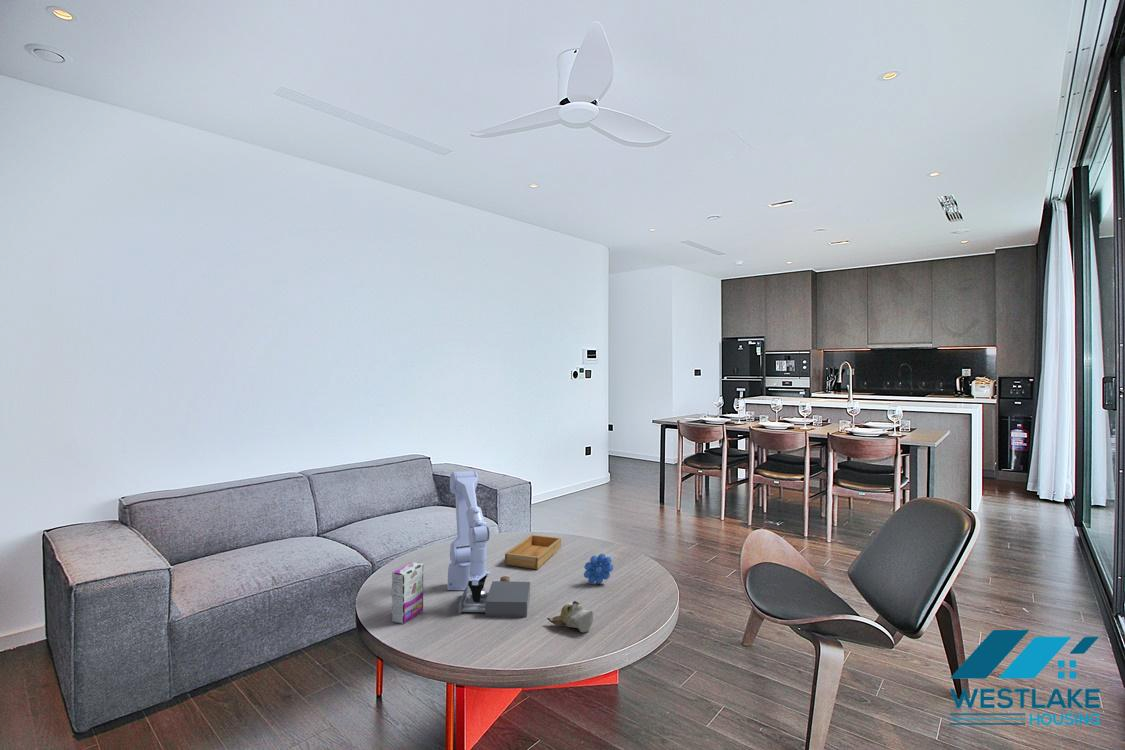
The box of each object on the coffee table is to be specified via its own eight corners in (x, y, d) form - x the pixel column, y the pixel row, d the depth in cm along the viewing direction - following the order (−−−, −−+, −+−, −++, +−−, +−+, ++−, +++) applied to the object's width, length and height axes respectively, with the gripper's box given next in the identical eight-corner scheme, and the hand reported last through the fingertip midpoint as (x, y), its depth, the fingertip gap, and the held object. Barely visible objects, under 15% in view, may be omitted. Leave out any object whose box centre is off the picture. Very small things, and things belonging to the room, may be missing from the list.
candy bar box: (411, 608, 189) (412, 561, 189) (423, 610, 188) (424, 563, 187) (390, 622, 179) (391, 572, 179) (403, 624, 177) (404, 574, 177)
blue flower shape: (611, 579, 219) (611, 549, 219) (614, 586, 212) (614, 555, 212) (582, 580, 218) (582, 550, 218) (584, 586, 211) (584, 555, 211)
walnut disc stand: (496, 591, 205) (496, 580, 205) (497, 585, 211) (498, 574, 211) (511, 591, 205) (512, 581, 205) (513, 585, 211) (513, 575, 211)
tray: (531, 545, 262) (531, 533, 262) (561, 549, 257) (561, 537, 257) (504, 566, 233) (504, 553, 233) (537, 571, 228) (537, 557, 228)
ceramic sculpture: (582, 611, 169) (545, 601, 178) (583, 639, 169) (546, 628, 178) (601, 600, 178) (565, 591, 187) (602, 627, 177) (565, 617, 186)
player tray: (458, 613, 184) (458, 603, 184) (467, 593, 202) (467, 583, 202) (497, 614, 184) (498, 604, 184) (503, 593, 202) (503, 584, 202)
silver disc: (484, 599, 190) (484, 594, 190) (468, 598, 190) (468, 593, 190) (486, 593, 196) (486, 588, 196) (471, 592, 196) (471, 587, 196)
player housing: (485, 616, 184) (485, 601, 184) (492, 594, 202) (492, 581, 202) (526, 617, 184) (527, 602, 184) (530, 595, 202) (530, 581, 202)
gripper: (486, 567, 186) (486, 606, 186) (492, 553, 200) (491, 590, 200) (466, 566, 186) (465, 606, 186) (473, 552, 200) (472, 589, 200)
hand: (477, 597), depth 193 cm, fingers closed on silver disc, 5 cm apart
